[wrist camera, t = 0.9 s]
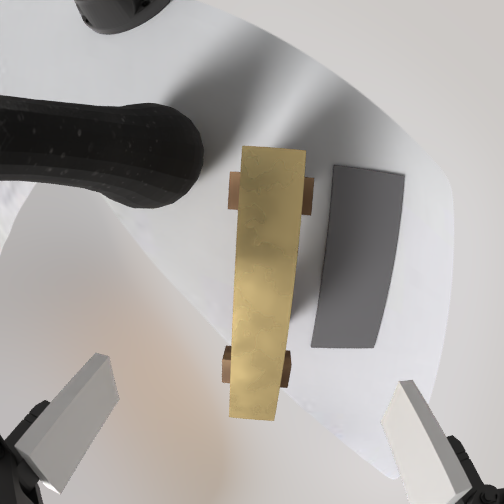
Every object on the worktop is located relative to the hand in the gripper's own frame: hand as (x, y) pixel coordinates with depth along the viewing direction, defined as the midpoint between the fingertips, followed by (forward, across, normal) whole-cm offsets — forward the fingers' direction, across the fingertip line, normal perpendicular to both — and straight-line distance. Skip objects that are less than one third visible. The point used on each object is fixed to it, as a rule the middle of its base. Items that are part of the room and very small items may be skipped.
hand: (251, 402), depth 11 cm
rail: (+14, 0, 0) cm, 14 cm away
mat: (+23, +12, 0) cm, 26 cm away
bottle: (+24, -12, +11) cm, 29 cm away
